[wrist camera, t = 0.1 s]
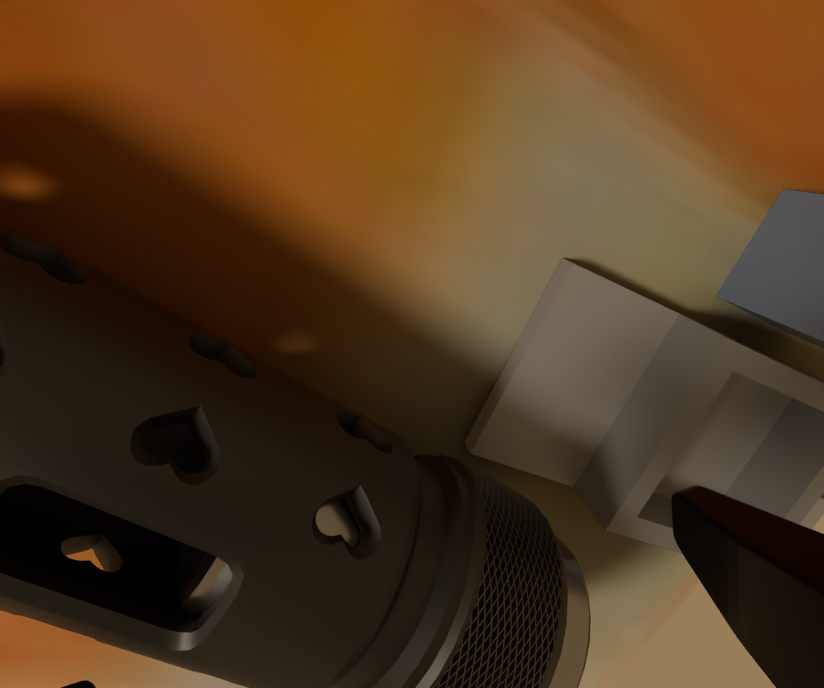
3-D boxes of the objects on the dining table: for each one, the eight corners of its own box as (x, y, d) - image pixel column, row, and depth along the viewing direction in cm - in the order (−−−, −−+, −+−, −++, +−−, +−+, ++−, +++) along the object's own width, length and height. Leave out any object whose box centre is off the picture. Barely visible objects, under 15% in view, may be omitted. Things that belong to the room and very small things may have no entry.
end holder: (779, 545, 31) (842, 601, 28) (464, 441, 25) (491, 496, 21) (882, 409, 29) (966, 451, 25) (563, 257, 23) (612, 283, 19)
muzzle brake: (-149, 56, 17) (-747, -32, 7) (534, 460, 26) (663, 650, 17) (-260, 314, 18) (-852, 517, 9) (415, 602, 28) (471, 844, 19)
